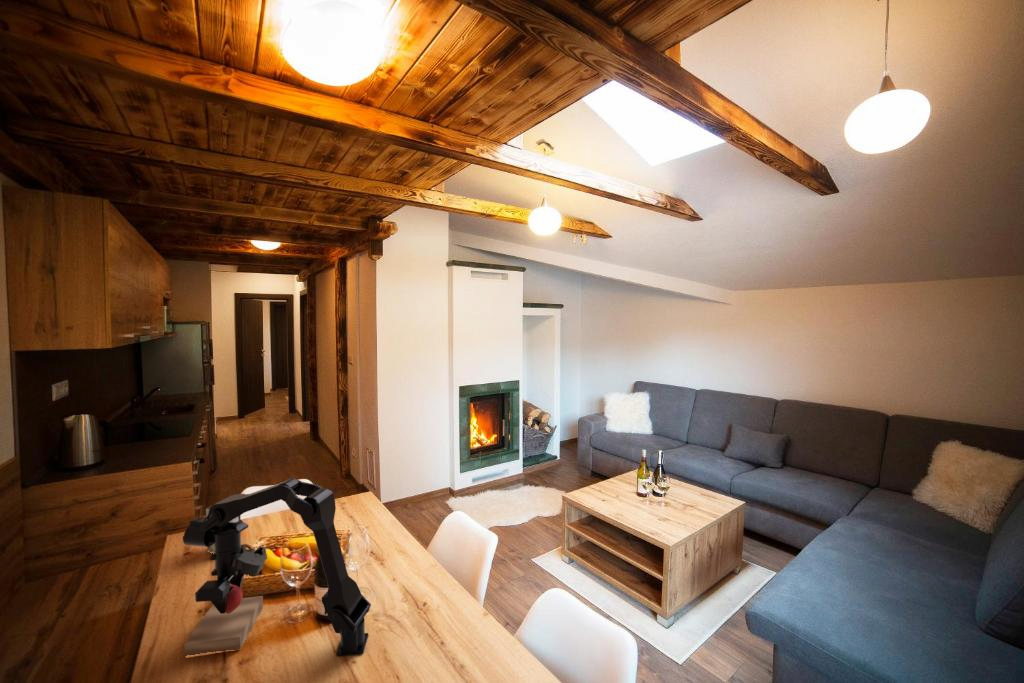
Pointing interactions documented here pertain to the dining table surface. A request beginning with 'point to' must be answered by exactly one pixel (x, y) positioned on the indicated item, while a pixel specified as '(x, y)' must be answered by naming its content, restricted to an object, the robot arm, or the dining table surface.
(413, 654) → the dining table surface
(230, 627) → the grey flat block
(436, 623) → the dining table surface
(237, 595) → the onion
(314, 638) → the dining table surface
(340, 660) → the dining table surface
